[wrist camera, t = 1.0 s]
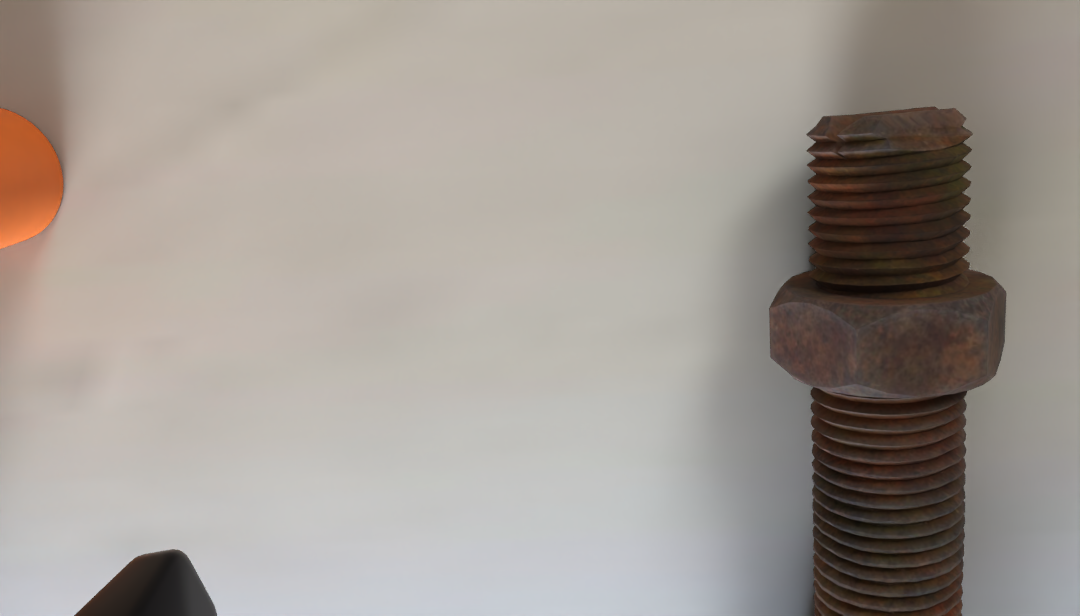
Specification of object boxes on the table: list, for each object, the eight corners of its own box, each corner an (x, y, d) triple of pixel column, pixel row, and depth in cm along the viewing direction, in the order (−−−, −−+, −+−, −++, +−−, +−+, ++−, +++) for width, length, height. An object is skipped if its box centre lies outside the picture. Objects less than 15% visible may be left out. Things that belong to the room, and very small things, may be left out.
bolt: (868, 104, 23) (870, 657, 27) (700, 123, 21) (725, 723, 25) (1103, 97, 18) (1068, 781, 22) (914, 122, 16) (907, 878, 19)
